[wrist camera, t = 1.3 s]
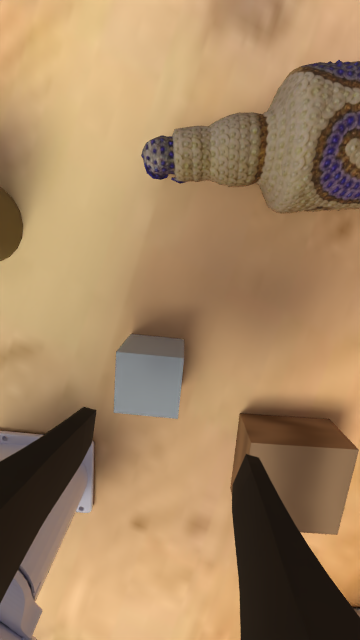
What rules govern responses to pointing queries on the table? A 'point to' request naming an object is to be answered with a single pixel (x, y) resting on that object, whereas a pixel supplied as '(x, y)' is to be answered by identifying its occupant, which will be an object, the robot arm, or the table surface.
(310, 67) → the decorative bottle
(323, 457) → the walnut block
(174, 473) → the table surface
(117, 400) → the slate cube
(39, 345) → the table surface
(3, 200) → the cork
